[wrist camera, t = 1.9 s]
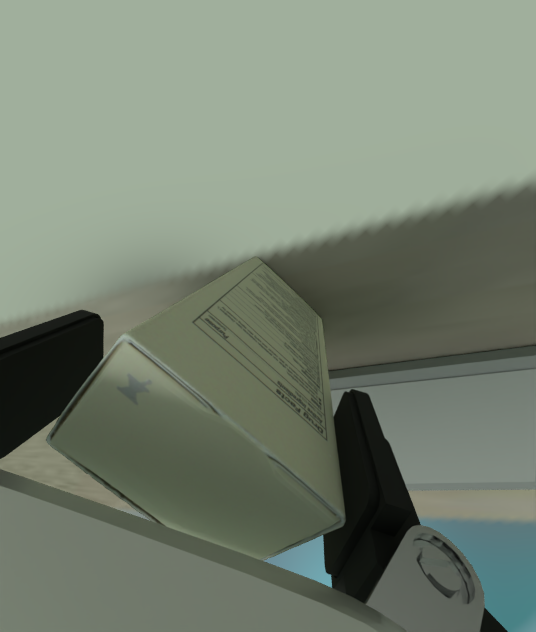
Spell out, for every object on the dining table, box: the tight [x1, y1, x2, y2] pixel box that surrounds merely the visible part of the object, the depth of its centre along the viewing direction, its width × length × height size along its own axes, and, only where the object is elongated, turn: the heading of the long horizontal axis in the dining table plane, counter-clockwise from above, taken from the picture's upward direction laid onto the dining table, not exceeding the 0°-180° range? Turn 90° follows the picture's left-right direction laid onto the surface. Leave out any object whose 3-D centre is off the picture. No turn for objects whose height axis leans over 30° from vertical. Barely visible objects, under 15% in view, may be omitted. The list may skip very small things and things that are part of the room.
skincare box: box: [46, 257, 346, 561], centre depth 11 cm, size 6×4×12 cm
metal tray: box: [328, 346, 536, 491], centre depth 17 cm, size 14×10×1 cm
